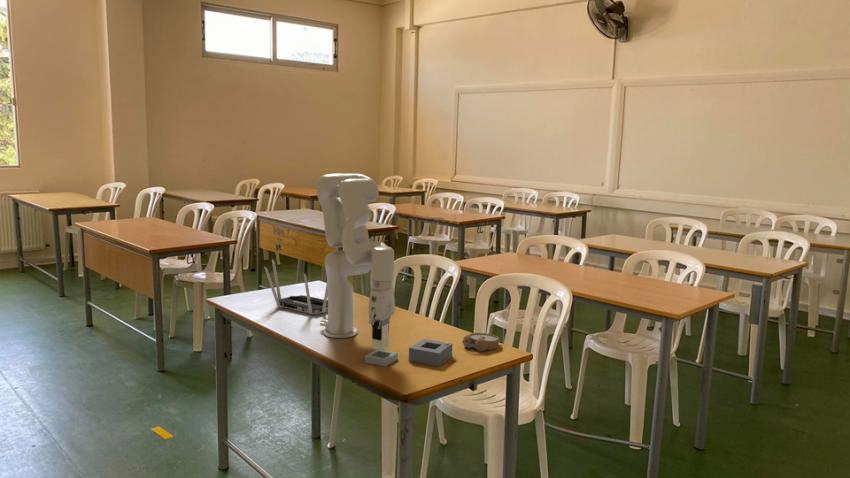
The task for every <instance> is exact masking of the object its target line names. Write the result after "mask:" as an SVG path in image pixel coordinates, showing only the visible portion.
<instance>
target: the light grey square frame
mask: <svg viewBox="0 0 850 478" xmlns="http://www.w3.org/2000/svg"><path fill="white" fill-rule="evenodd" d="M398 354H399V353H398V352H395V351H390V350H385V349H384V350H378V349H373V350H372V351H370V352H369V353H368V354H366V355H364V363H365V364H366V363H367V364H370V365H375V366H376V365H377V366H380V367H385V368H386V367H387V366H390V365H391V364H392V363H394V362H395V361H397V360H398V359H399V358H398Z"/></svg>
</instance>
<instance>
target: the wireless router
mask: <svg viewBox="0 0 850 478" xmlns="http://www.w3.org/2000/svg"><path fill="white" fill-rule="evenodd" d="M271 262H272V263H271V264H272V270H273V277H274V281H275V282H274V283H275V286H274V283H273V281H272V277H271V274H270V273H269V269H268V268H267V267H266V266H263V267H264V268H263V269H264V270H265V273H266V277H267V279H268V282H269V285H270V288H271V292H272V295H273V297H274V301H275V303H276V307H277V308H283V307H284V309H287V308H289V310H292V309H293V311H296V310H297V312H302V313H306V314H309V315H314V316H315V315H320V314H322V313H326V312H328V287H327V284H325V285H326V286H325V292H324V297H323V299H322V298H318V297H313V296H311V295H310V289H309V283H308V282H309V281H308V276H307V274H306V273H303V280H304V286H305V294H306V295H290V296H288V297H282V295H281V290H280V288H281V287H280V284H279V278H278V274H277V273H278V272H277V267H276V262H275V260H274V259H271ZM275 287H276V289H275Z"/></svg>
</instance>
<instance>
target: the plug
mask: <svg viewBox="0 0 850 478" xmlns="http://www.w3.org/2000/svg"><path fill="white" fill-rule="evenodd" d="M375 318H377V317H375ZM375 322H377V323H378V321H375ZM388 325H389V324H388V318H387V319H385V320H383V321H381V328H382V338H381V340H376V339H373V338H372V337H371V348H372V350H376V349H378V350H385V349H387V348H388V347H389V334H388Z"/></svg>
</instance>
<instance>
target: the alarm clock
mask: <svg viewBox="0 0 850 478" xmlns="http://www.w3.org/2000/svg"><path fill="white" fill-rule="evenodd" d="M500 342H501V340H500V337H499V336H497V335H495V334H491V333H484V332H483V333H482V332H473V333H470V334H466V335H465V336H464V337H463V339H462V342H461V343H463V344H462V345H463V346H464V347H465V348H466V349H470V348H473V349H475V350H476V351H478V352H479V351H480V352H481V353H484V352H486V351H487V350H491V351H492V350H496V349H498V348H500V347H499V345H500V344H499V343H500Z"/></svg>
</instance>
